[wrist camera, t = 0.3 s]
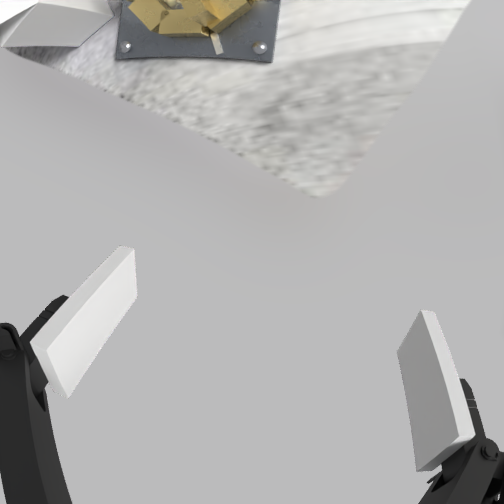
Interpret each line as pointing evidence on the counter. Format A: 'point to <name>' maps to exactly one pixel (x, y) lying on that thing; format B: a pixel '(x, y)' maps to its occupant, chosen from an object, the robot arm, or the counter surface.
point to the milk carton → (51, 21)
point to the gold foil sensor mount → (189, 16)
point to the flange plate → (216, 45)
